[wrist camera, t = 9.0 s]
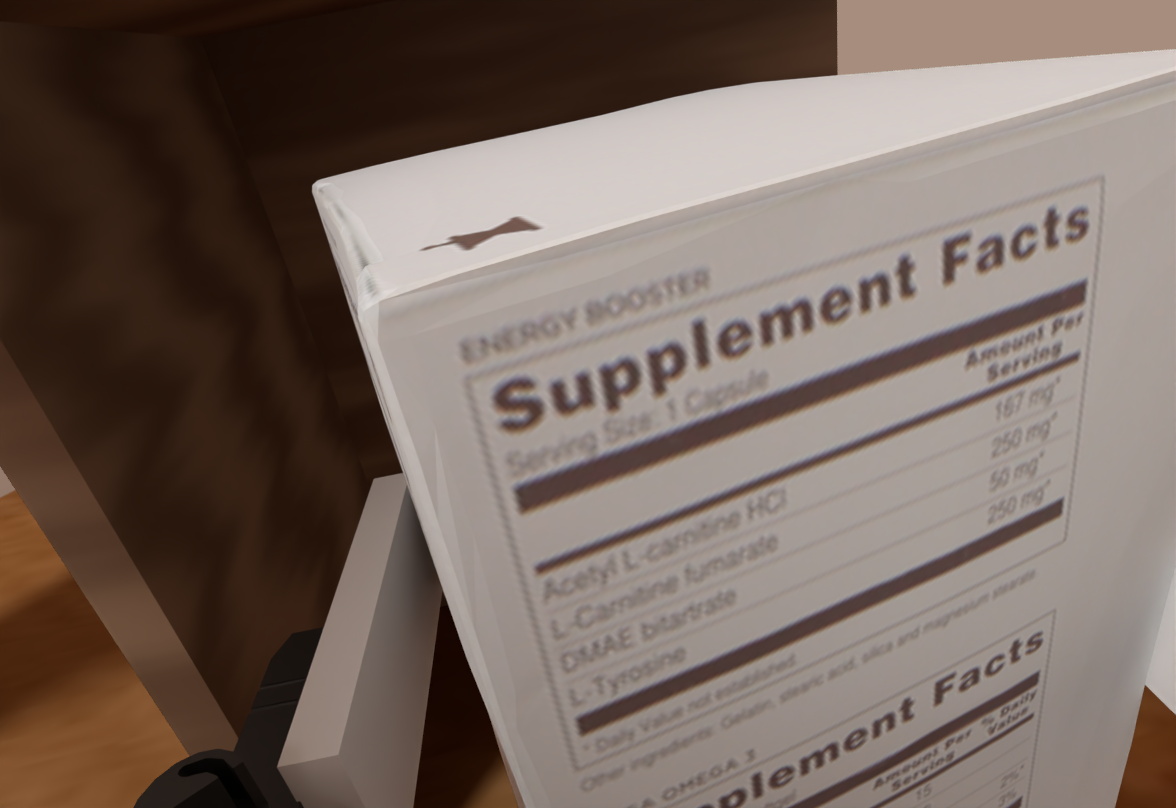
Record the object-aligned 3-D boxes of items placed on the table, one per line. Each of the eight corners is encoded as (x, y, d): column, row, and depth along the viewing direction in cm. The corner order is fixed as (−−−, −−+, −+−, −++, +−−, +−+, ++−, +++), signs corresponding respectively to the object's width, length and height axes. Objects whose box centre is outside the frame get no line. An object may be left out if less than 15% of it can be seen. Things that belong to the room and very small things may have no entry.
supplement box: (1091, 981, 14) (1391, 18, 6) (683, 1290, 11) (340, 304, 4) (788, 655, 22) (756, 69, 14) (512, 792, 19) (297, 168, 12)
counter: (1039, 799, 25) (1287, -485, 11) (318, 952, 24) (-415, -169, 10) (830, 509, 41) (819, -154, 27) (394, 599, 40) (149, -27, 26)
